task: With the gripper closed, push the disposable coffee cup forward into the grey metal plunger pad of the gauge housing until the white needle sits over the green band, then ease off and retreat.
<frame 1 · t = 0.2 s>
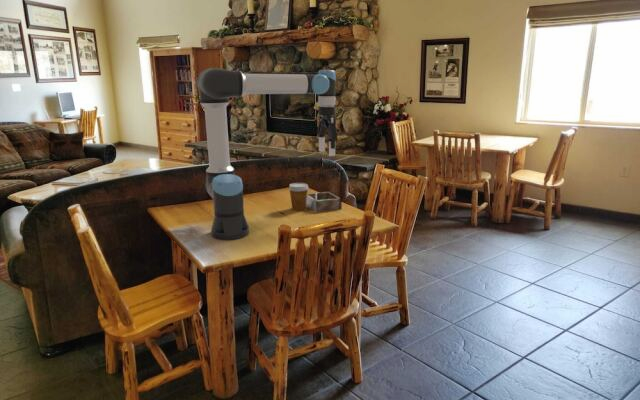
hand: (326, 153, 206), 28 cm above the table, fingers open, 13 cm apart
disposable coffee cup: (298, 209, 217), on the table
gauge housing: (324, 206, 221), on the table
gauge plunger: (314, 198, 218), point 5 cm above the table, slide at 0.0 cm
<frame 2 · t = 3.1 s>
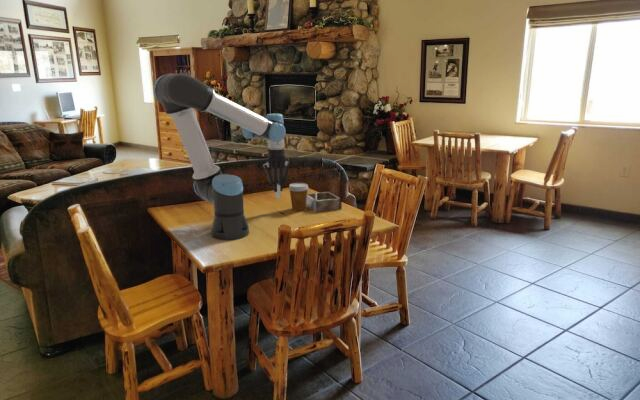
hand: (278, 198, 211), 7 cm above the table, fingers closed
nothing on the table moved.
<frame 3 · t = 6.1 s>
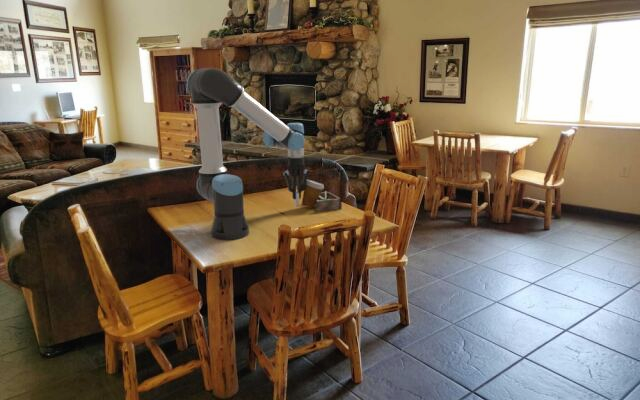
hand: (296, 205, 216), 2 cm above the table, fingers closed
disposable coffee cup: (307, 206, 218), point 1 cm above the table, touching gauge plunger, hand
gauge plunger: (324, 197, 220), point 5 cm above the table, slide at 4.8 cm, touching disposable coffee cup
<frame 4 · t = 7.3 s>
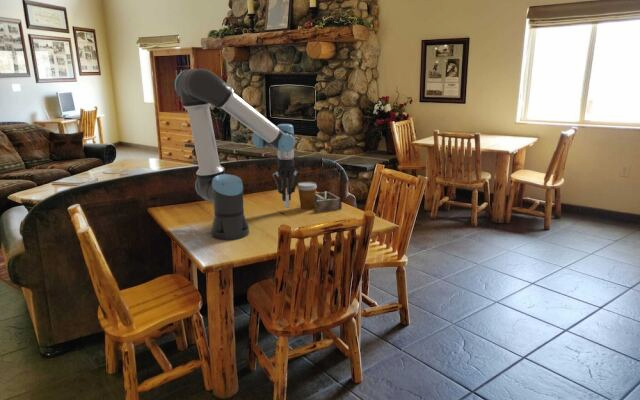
hand: (286, 207, 214), 2 cm above the table, fingers closed
disposable coffee cup: (307, 208, 218), on the table
gauge plunger: (324, 197, 220), point 5 cm above the table, slide at 4.8 cm
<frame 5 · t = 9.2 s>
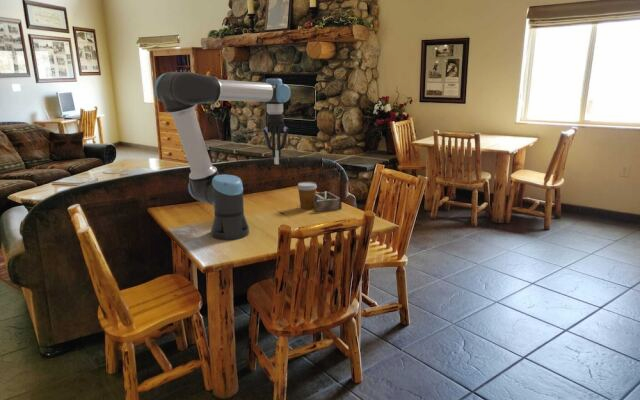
hand: (276, 163, 213), 22 cm above the table, fingers closed
nothing on the table moved.
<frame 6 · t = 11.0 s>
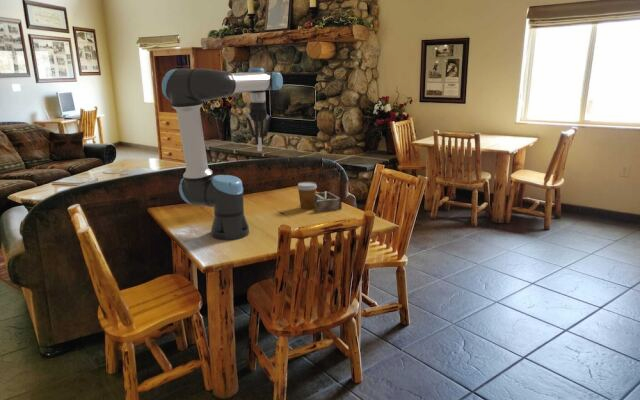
hand: (259, 150, 221), 26 cm above the table, fingers closed
nothing on the table moved.
at the end: gauge plunger slide at 4.8 cm; disposable coffee cup tilted 0°; the gripper is holding nothing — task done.
